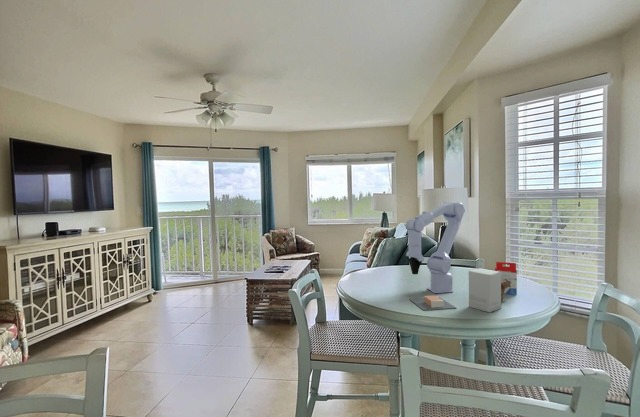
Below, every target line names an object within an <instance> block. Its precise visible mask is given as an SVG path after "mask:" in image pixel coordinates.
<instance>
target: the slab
mask: <svg viewBox="0 0 640 417" xmlns="http://www.w3.org/2000/svg"><path fill="white" fill-rule="evenodd" d="M439 297H440V296H437V295H424V297H423V298H424V302H425V303H426V304H428V305H429V306H430V307H432V308H435V307H444V301H443V300H444V299H443V298H442V299H443V300H442V299H440V298H441V297H440V298H439Z"/></svg>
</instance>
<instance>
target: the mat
mask: <svg viewBox="0 0 640 417" xmlns="http://www.w3.org/2000/svg"><path fill="white" fill-rule="evenodd" d="M438 297H439V298H440V299H442V300H443V301H444V307H435V308H432V307H430V306H429V305H428V304H426V303H425V302H424V297H418V298H409V300H410V301H411V302H412V303H413V304H415V306H417V307H418V308H419V309H420V310H422V311H438V310H439V311H440V310H441V311H442V310H455V309H457V307H456V306H455V305H453V304H452V303H449V302H448V301H447V300H445V299H443V298H442V297H440V296H438Z"/></svg>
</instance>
